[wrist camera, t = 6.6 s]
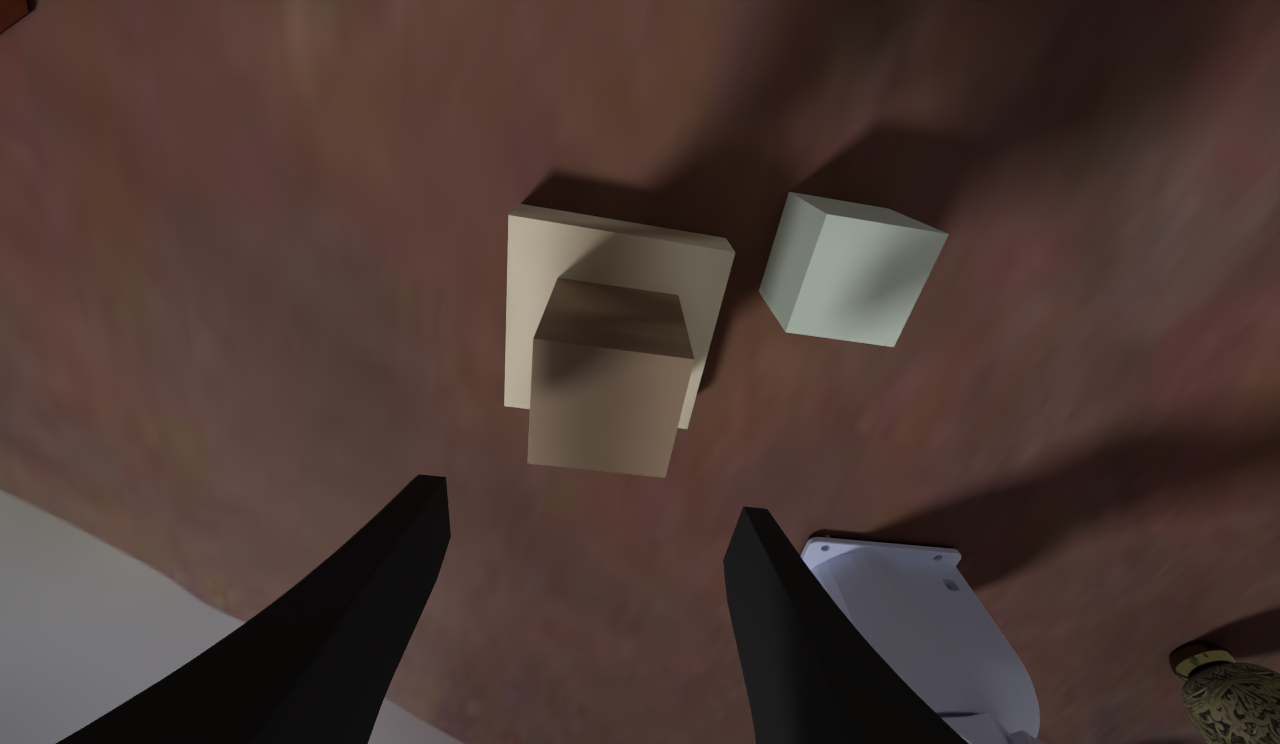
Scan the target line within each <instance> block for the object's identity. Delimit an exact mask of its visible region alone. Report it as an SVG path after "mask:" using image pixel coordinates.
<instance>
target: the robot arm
mask: <svg viewBox="0 0 1280 744" xmlns="http://www.w3.org/2000/svg"><path fill="white" fill-rule="evenodd" d="M450 537H451V534H450V522H449V509H448V497H447V484H446V477H439V476H429V475H418V476H417V477H415V478H414V479H413V480H412V481H411V482H410V483H409V484H408V485H407V486H406V487H405V488H404V489H403V490H402V491H401V492H400V493H399V494H398V495H397V496H396V497H394V498H393V499H392V500H391V501H390V502H389V503H388V504H387V505H386V506H385V507H384V508H383V509H382V510H381V511H380V512H379V513H378V514H377V515H376V516H375V517H373V518H372V519H371V520H370V521H369V522H368V523H367V524H366V525H365V526H364V527H363V528H361V529H360V530H359V531H358V532H357V533H356V534H355V535H354V536H353V537H352V538H350V539H349V540H348V541H347V542H346V543H345V544H344V545H343V546H342V547H340V548H339V549H338V550H337V551H336V552H335V553H333V554H332V555H331V556H330V557H329V558H327V559H326V560H325V561H324V562H323V563H321V564H320V565H319V566H318V567H317V568H315V569H314V570H313V571H312V572H311V573H309V574H308V575H307V576H306V577H305V578H303V579H302V580H301V581H300V582H299V583H297V584H296V585H295V586H294V587H292V588H291V589H290V590H289V591H287V592H286V593H285V594H283V595H282V596H281V597H280V598H278V599H277V600H276V601H274V602H273V603H272V604H270V605H269V606H268V607H266V608H265V609H264V610H262V611H261V612H260V613H258V614H257V615H256V616H254V617H253V618H251V619H250V620H249V621H247V622H246V623H245V624H243V625H242V626H241V627H239V628H238V629H236V630H235V631H234V632H232V633H231V634H229V635H228V636H226V637H225V638H223V639H222V640H220V641H219V642H217V643H216V644H215V645H213V646H212V647H210V648H209V649H207V650H206V651H204V652H203V653H201V654H200V655H199V656H197V657H196V658H194V659H193V660H191V661H190V662H188V663H187V664H185V665H184V666H182V667H181V668H179V669H177V670H176V671H174V672H173V673H171V674H170V675H168V676H167V677H165V678H164V679H162V680H161V681H159V682H157V683H156V684H154V685H152V686H151V687H149V688H147V689H146V690H144V691H142V692H141V693H139V694H138V695H136V696H134V697H133V698H131V699H130V700H128V701H126V702H125V703H123V704H122V705H120V706H118V707H117V708H115V709H113V710H112V711H110V712H108V713H107V714H105V715H103V716H102V717H100V718H99V719H97V720H95V721H94V722H92V723H90V724H89V725H87V726H85V727H84V728H82V729H80V730H79V731H77V732H75V733H73V734H72V735H70V736H68V737H67V738H65V739H63V740H61V741H60V742H58V743H56V744H368V741H369V738H370V735H371V733H372V730H373V727H374V724H375V721H376V718H377V716H378V713H379V710H380V707H381V704H382V702H383V699H384V697H385V695H386V692H387V690H388V687H389V685H390V682H391V680H392V678H393V676H394V673H395V671H396V669H397V667H398V664H399V662H400V660H401V658H402V656H403V653H404V651H405V649H406V647H407V645H408V642H409V640H410V638H411V636H412V634H413V631H414V629H415V627H416V625H417V623H418V620H419V618H420V616H421V614H422V612H423V609H424V607H425V605H426V603H427V600H428V598H429V596H430V594H431V591H432V589H433V587H434V585H435V582H436V580H437V577H438V574H439V571H440V568H441V565H442V562H443V559H444V556H445V553H446V550H447V547H448V543H449V540H450ZM961 558H962V557H961V554H960V553H959V551H958V550H956V549H949V548H938V547H927V546H915V545H904V544H893V543H882V542H870V541H859V540H848V539H837V538H825V537H813V538H811V539H809V540H808V542H807V543H806V546H805V548H804V550H803V552H802V554H801V556H800V555H799V554H798V552H797V551H796V549H795V548H794V547H793V545H792V544H791V542H790V541H789V539H788V538H787V537H786V535H785V534H784V532H783V531H782V529H781V528H780V527H779V525H778V524H777V522H776V521H775V519H774V518H773V517H772V515H771V514H770V512H769V511H768V510H767V509H762V508H752V507H743V509H742V512H741V514H740V517H739V520H738V522H737V525H736V528H735V530H734V533H733V536H732V538H731V541H730V544H729V546H728V549H727V552H726V554H725V557H724V560H723V562H724V573H725V584H726V593H727V601H728V606H729V611H730V616H731V621H732V625H733V630H734V634H735V639H736V643H737V648H738V652H739V657H740V661H741V666H742V670H743V675H744V679H745V684H746V688H747V693H748V697H749V702H750V707H751V713H752V718H753V724H754V731H755V738H756V744H1046V743H1045V742H1043V741H1041V740H1039V739H1037V738H1036V737H1037V734H1038V731H1039V726H1040V711H1039V705H1038V701H1037V697H1036V693H1035V690H1034V687H1033V684H1032V682H1031V679H1030V677H1029V674H1028V672H1027V670H1026V669H1025V667H1024V665H1023V663H1022V662H1021V660H1020V658H1019V657H1018V655H1017V654H1016V652H1015V651H1014V650H1013V648H1012V647H1011V645H1010V644H1009V642H1008V641H1007V639H1006V638H1005V637H1004V635H1003V634H1002V632H1001V631H1000V629H999V628H998V626H997V625H996V624H995V622H994V621H993V619H992V618H991V616H990V615H989V613H988V612H987V611H986V609H985V608H984V606H983V605H982V603H981V602H980V601H979V599H978V598H977V596H976V595H975V593H974V592H973V590H972V589H971V588H970V586H969V585H968V583H967V582H966V580H965V579H964V577H963V576H962V575H961V573H960V572H959V570H958V569H957V567H956V565H957V564H958V562H959V561H960V560H961Z"/></svg>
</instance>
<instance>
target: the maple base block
mask: <svg viewBox="0 0 1280 744" xmlns="http://www.w3.org/2000/svg"><path fill="white" fill-rule="evenodd" d="M734 256H735V251H734V250H733V248H732V247H731V245H730V244H729V242H728V241H727V239H726V238H723V237H717V236H711V235H705V234H699V233H693V232H687V231H681V230H675V229H669V228H663V227H657V226H651V225H645V224H639V223H633V222H627V221H621V220H615V219H609V218H603V217H597V216H591V215H585V214H579V213H573V212H567V211H561V210H555V209H549V208H543V207H537V206H531V205H525V204H520V205H519V206H518V207H517V208H516V209H514V210H513V211H512V212H511V213H510V214H509V220H508V266H507V311H506V356H505V402H504V406H509V407H517V408H525V409H530V396H531V374H532V352H533V338H534V335H535V333H536V330H537V328H538V325H539V323H540V320H541V318H542V315H543V313H544V310H545V308H546V305H547V303H548V301H549V298H550V296H551V293H552V291H553V288H554V286H555V283H556V281H557V278H563V279H570V280H577V281H584V282H591V283H598V284H605V285H612V286H619V287H626V288H633V289H640V290H646V291H653V292H660V293H667V294H674V295H678V296H679V300H680V304H681V308H682V312H683V316H684V320H685V324H686V328H687V332H688V336H689V340H690V344H691V348H692V352H693V356H694V364H693V368H692V372H691V376H690V380H689V384H688V388H687V392H686V396H685V400H684V404H683V408H682V412H681V416H680V420H679V424H678V428H683V429H687V428H688V424H689V421H690V417H691V413H692V410H693V406H694V402H695V399H696V395H697V391H698V388H699V384H700V380H701V377H702V373H703V369H704V366H705V362H706V358H707V355H708V351H709V347H710V344H711V340H712V336H713V333H714V329H715V325H716V322H717V318H718V314H719V311H720V307H721V303H722V300H723V296H724V292H725V289H726V285H727V282H728V278H729V274H730V271H731V267H732V263H733V260H734Z"/></svg>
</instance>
